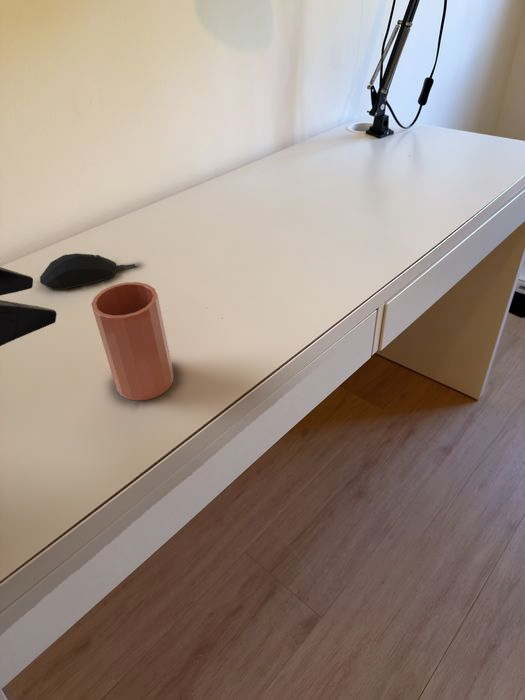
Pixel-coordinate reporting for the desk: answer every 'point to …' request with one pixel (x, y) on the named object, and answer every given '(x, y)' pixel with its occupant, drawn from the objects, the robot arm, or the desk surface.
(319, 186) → the desk surface
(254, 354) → the desk surface
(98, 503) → the desk surface
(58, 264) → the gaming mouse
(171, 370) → the pen cup
